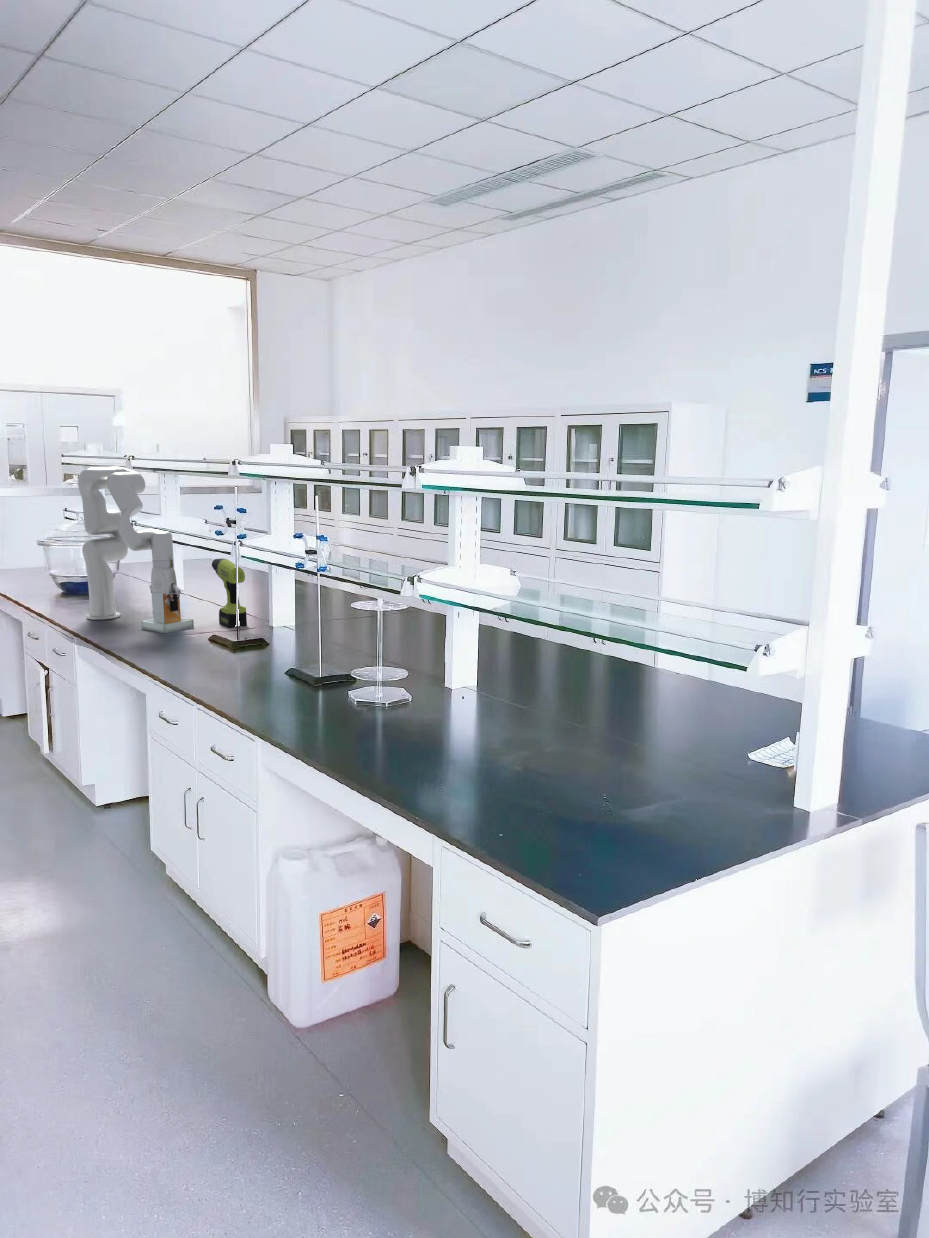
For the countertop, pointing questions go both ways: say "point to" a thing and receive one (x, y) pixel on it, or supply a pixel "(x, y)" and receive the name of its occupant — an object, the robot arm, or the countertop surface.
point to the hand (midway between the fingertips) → (166, 609)
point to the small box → (164, 609)
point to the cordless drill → (230, 593)
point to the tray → (167, 625)
